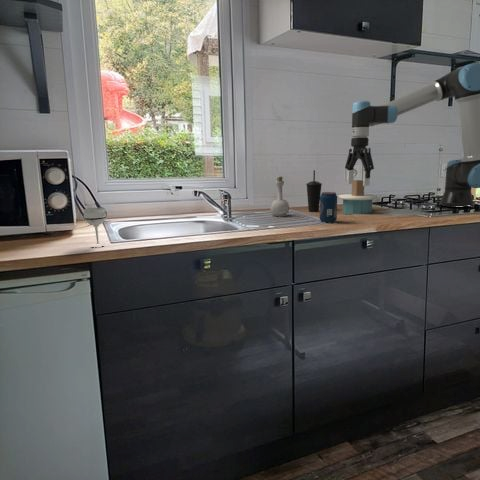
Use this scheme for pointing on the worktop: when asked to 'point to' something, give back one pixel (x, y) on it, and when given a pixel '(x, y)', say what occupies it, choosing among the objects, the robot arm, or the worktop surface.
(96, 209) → the wineglass
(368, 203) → the bowl
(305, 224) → the worktop surface
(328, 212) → the soda can
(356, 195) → the lid
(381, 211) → the mat
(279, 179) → the potion bottle
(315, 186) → the drinking cup
